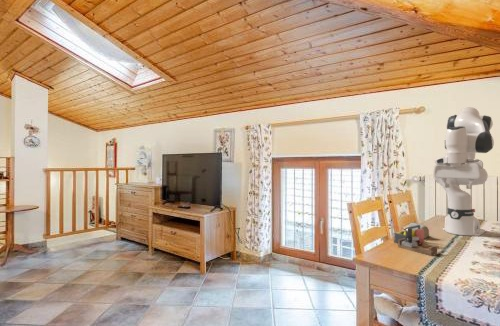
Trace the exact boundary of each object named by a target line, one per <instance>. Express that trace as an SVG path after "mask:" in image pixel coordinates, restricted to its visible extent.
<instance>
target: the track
mask: <svg viewBox="0 0 500 326" xmlns="http://www.w3.org/2000/svg"><path fill="white" fill-rule="evenodd" d="M404 240H406V239H405V238H403V239H399V240H398V243H397V247H398V248H400V249H405V250H408V251H411V252H414V253H415V252H416V253H420V254H422V255H426V256H430V257H432V256H436V255H438V246H437V245H432V246H431V245H430V246H429V247H428V248H426V247H421V246H418V245H417V246H416V247H413V248H411V247H407V246H403V245H402V241H404Z"/></svg>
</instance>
